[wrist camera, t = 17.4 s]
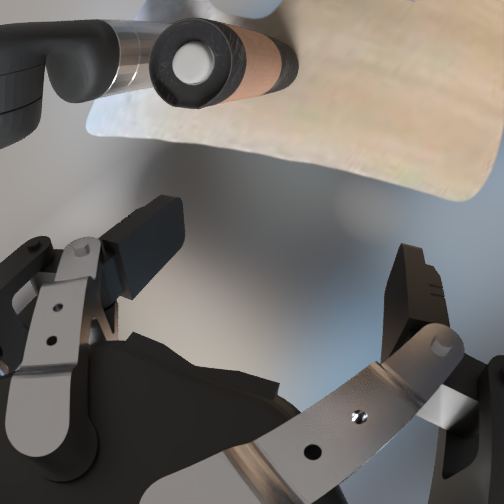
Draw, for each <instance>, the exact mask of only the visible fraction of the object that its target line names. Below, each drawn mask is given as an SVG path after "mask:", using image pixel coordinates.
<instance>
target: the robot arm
mask: <svg viewBox="0 0 504 504" xmlns="http://www.w3.org/2000/svg"><path fill="white" fill-rule="evenodd" d="M170 25H172V24H166V23H157V22H146V21H131V20H97V19H96V20H74V21H57V22H28V23H14V24H5V25H0V149H2V148H4V147H7V146H9V145H11V144H14V143H16V142H18V141H20V140H22V139H23V138H25V137H26V136H28V135H29V134H31V133H32V132H33V131H34V130H35V129H36V128H37V126H38V124H39V122H40V118H41V110H42V95H43V82H44V72H45V65H46V68H47V72H48V76H49V80H50V82H51V85H52V87H53V89H54V91H55V92H56V93H57V95H58V96H59V97H60V98H62V99H63V100H65V101H67V102H69V103H82V102H86V101H90V100H94V99H98V98H102V97H106V96H111V95H115V94H120V93H124V92H130V91H135V90H140V89H146V88H152V87H153V85H152V82H151V79H150V75H149V57H150V53H151V50H152V47H153V45H154V43H155V41H156V40H157V38H158V37H159V35H160V34H161V33H162V32H163V31H164V30H165V29H166V28H167V27H169V26H170ZM184 239H185V226H184V214H183V203H182V200H181V198H179V197H175V196H169V195H160V196H158V197H157V198H155V199H154V200H153V201H151V202H150V203H149V204H147V205H146V206H144V207H141V208H139V209H136V210H135V211H134V212H132V213H131V214H130V215H128V217H126V218H124V219H123V220H122V221H121V223H118V224H116V225H115V226H114V227H112V228H111V229H110V230H109V231H107V232H106V233H105V234H103V235H102V236H101V237H100V238H98V239H97V238H94V237H83V238H79V239H77V240H75V241H73V242H71V243H70V244H68V245H67V246H66V247H65V249H64V250H62V249H59V250H58V249H53V246H52V243H51V240H50V238H49V237H47V236H39V237H35V238H32V239H30V240H28V241H27V242H25V243H24V244H23V245H21V246H20V247H19V248H18V249H17V250H15V251H14V252H13V253H12V254H11V255H10V256H8V257H7V258H6V259H5V260H4V261H2V262H1V263H0V504H348V503H347V501H346V498H345V497H344V494H343V492H342V490H341V488H340V486H339V484H341V483H342V482H343V481H344V480H346V479H347V478H348V477H349V476H350V475H352V474H353V473H354V472H356V471H357V470H358V469H359V468H360V467H362V466H363V465H364V464H365V463H366V462H367V461H369V460H370V459H371V458H372V457H373V456H374V455H375V454H376V453H378V452H379V451H380V450H381V449H382V448H383V447H384V446H385V445H386V444H387V443H388V442H389V441H390V440H392V439H393V438H394V437H395V436H396V434H398V433H399V432H400V431H401V430H402V428H404V427H405V426H406V424H408V423H409V422H410V421H411V419H412V418H413V417H414V416H415V415H417V416H419V417H421V418H423V419H425V420H427V421H429V422H431V423H433V424H436V425H438V426H439V432H438V442H437V452H436V459H435V466H434V473H433V479H432V485H431V490H430V495H429V501H428V504H504V355H498V356H495V357H493V358H492V359H491V360H490V362H489V363H488V364H484V363H483V362H481V361H478V360H476V359H475V358H473V357H471V356H469V355H467V354H466V353H465V348H464V343H463V341H462V339H461V338H460V336H459V335H458V334H457V333H456V332H455V331H454V330H453V329H451V328H450V324H449V318H448V313H447V306H446V301H445V298H444V291H443V289H442V288H443V286H442V282H441V277H440V275H439V274H438V272H437V271H436V270H435V268H434V267H433V266H431V265H427V264H425V260H424V255H423V250H422V248H419V247H415V246H411V245H407V244H403V243H402V244H401V245H400V246H399V249H398V252H397V255H396V258H395V261H394V264H393V267H392V270H391V272H390V276H389V279H388V281H387V285H386V289H385V294H384V317H383V336H382V351H381V364H379V363H378V362H377V361H376V362H373V363H371V364H370V365H368V366H367V367H366V368H364V369H363V370H362V371H360V372H359V373H358V374H357V375H355V376H354V377H353V378H351V379H350V380H348V381H347V382H346V383H344V384H343V385H341V386H340V387H339V388H337V389H336V390H335V391H333V392H332V393H330V394H329V395H327V396H326V397H324V398H323V399H321V400H320V401H319V402H317V403H315V404H314V405H313V406H311V407H310V408H308V409H306V410H305V411H303V412H302V413H301V412H300V411H299V410H298V409H297V408H296V407H294V406H293V405H292V404H291V403H289V402H288V401H286V400H285V399H284V398H282V397H280V396H278V395H277V394H278V389H279V384H280V383H277V382H274V381H270V380H266V379H263V378H260V377H257V376H253V375H250V374H247V373H243V372H240V371H232V370H223V369H215V368H206V367H199V366H194V365H193V364H191V363H189V362H188V361H186V360H185V359H184V358H182V357H181V356H179V355H178V354H177V353H175V352H174V351H172V350H171V349H170V348H168V347H167V346H166V345H164V344H162V343H159V342H157V341H154V340H152V339H150V338H147V337H145V336H142V335H140V334H137V333H135V332H133V333H132V334H131V335H130V336H129V338H128V339H127V340H126V341H119V339H118V302H117V298H118V297H119V296H123V297H125V298H128V299H130V300H133V299H134V298H135V297H136V296H137V295H138V293H139V292H140V291H141V290H142V289H143V288H144V287H145V286H146V285H147V284H148V283H149V281H150V280H151V279H152V278H153V277H154V276H155V275H156V274H157V273H158V272H159V271H160V270H161V269H162V268H163V266H164V265H165V264H166V263H167V262H168V261H169V260H170V259H171V258H172V257H173V256H174V255H175V254H176V253H177V252H178V251H179V250H180V248H181V247H182V245H183V243H184ZM29 280H30V281H31V284H32V286H33V288H34V290H35V293H36V295H37V296H36V297H35V298H34V299H33V300H32V301H31V302H30V303H29V304H28V305H27V306H26V307H25V308H24V309H23V310H22V311H21V312H20V313H19V314H18V315H17V314H16V313H15V311H14V309H13V307H12V299H13V296H14V295H15V293H16V292H18V291H19V289H21V288H22V287H23V286H24V285H25V284H26V283H27V282H28V281H29ZM22 361H23V362H22ZM21 362H22V366H21V368H20V370H17V371H15V370H16V369H17V367H18V366H19V365H20V364H21Z"/></svg>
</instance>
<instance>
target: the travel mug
mask: <svg viewBox="0 0 504 504" xmlns="http://www.w3.org/2000/svg"><path fill="white" fill-rule="evenodd" d="M298 67H299V66H298V59H297V57H296V55H295V53H294V52H293V50H292V49H291V48H290V47H289V46H287V45H286V44H284V43H282V42H280V41H278V40H275V39H273V38H271V37H269V36H266V35H264V34H261V33H259V32H255V31H252V30H248V29H245V28H241V27H237V26H233V25H229V24H225V23H221V22H217V21H212V20H208V19H202V18H187V19H183V20H180V21H177V22H175V23H173V24H172V25H170V26H169V27H167V28H166V29H165V30H164V31H163V32H162V33H161V34H160V35H159V37H158V38H157V40H156V41H155V43H154V45H153V47H152V50H151V53H150V57H149V75H150V79H151V82H152V85H153V87H154V89H155V90H156V92H157V93H158V95H159V96H160V97H161V98H162V99H163V100H164V101H165V102H166V103H168V104H169V105H171V106H174V107H182V108H189V109H201V108H204V107H207V106H212V105H217V104H221V103H226V102H231V101H236V100H242V99H247V98H253V97H257V96H261V95H265V94H269V93H272V92H276V91H279V90H282V89H284V88H286V87H288V86H289V85H290V84H291V83H292V82H293V81H294V80H295V78H296V76H297V73H298Z"/></svg>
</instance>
